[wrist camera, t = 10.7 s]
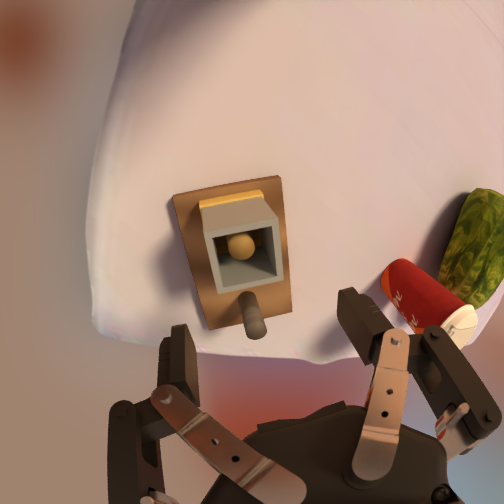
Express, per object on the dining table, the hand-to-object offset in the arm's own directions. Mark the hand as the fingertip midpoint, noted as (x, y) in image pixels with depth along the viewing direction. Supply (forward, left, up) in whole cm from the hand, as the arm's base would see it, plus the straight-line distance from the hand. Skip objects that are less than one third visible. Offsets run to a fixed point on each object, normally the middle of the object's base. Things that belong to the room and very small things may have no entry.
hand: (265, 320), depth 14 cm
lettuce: (+10, +33, -16) cm, 38 cm away
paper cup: (+13, +21, -16) cm, 29 cm away
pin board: (+5, 0, -15) cm, 16 cm away
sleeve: (0, 0, -14) cm, 14 cm away
